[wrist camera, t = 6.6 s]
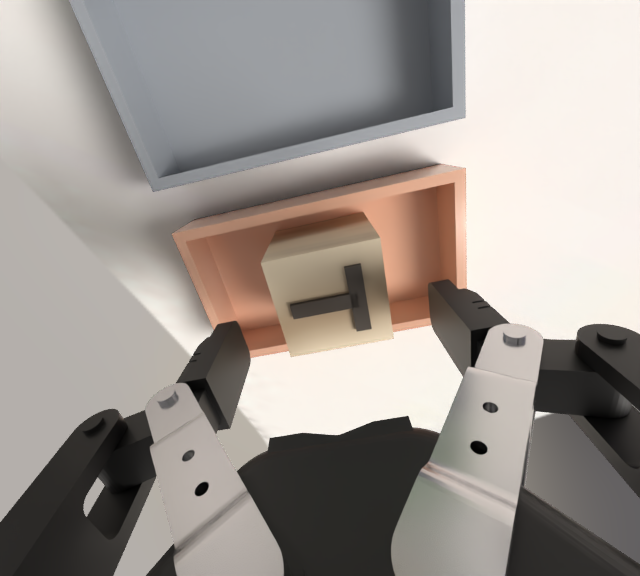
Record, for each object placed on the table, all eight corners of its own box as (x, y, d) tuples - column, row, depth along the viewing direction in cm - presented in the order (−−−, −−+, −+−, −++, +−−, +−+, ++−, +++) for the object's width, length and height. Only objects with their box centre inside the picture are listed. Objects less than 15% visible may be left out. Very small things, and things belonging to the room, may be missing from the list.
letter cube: (275, 231, 17) (259, 264, 12) (363, 212, 17) (381, 239, 12) (297, 306, 19) (290, 359, 14) (375, 291, 19) (394, 341, 14)
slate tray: (104, -6, 13) (49, -44, 10) (430, -105, 12) (463, -177, 9) (180, 183, 16) (153, 192, 14) (439, 122, 15) (465, 117, 13)
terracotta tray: (194, 219, 17) (171, 233, 15) (441, 163, 16) (465, 168, 13) (239, 333, 21) (227, 362, 18) (446, 294, 20) (466, 318, 17)
